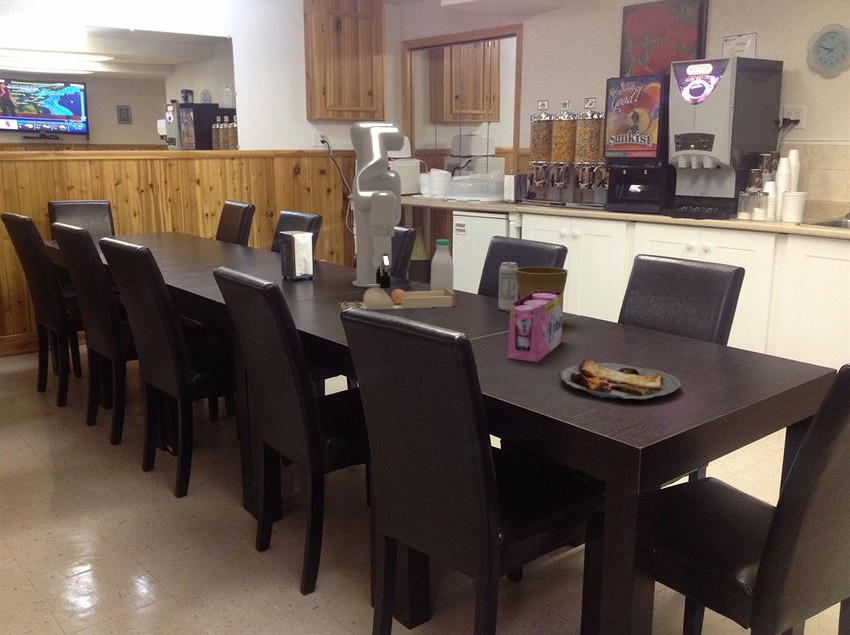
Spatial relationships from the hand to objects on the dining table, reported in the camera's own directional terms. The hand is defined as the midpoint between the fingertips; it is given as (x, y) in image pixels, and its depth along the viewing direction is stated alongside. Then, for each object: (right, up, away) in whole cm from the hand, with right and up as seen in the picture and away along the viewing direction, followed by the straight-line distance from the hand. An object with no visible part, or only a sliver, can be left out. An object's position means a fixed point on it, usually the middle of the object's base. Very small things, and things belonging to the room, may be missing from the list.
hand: (382, 285), depth 249 cm
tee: (-10, -7, -1) cm, 12 cm away
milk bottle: (+19, -4, +16) cm, 26 cm away
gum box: (+42, -19, -53) cm, 70 cm away
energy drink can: (+40, -8, -3) cm, 41 cm away
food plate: (+55, -26, -83) cm, 103 cm away
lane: (+4, -9, +3) cm, 10 cm away
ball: (+5, -4, +2) cm, 6 cm away
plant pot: (+47, -12, -23) cm, 54 cm away
